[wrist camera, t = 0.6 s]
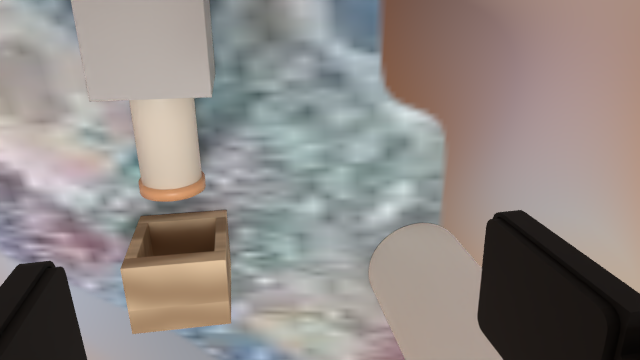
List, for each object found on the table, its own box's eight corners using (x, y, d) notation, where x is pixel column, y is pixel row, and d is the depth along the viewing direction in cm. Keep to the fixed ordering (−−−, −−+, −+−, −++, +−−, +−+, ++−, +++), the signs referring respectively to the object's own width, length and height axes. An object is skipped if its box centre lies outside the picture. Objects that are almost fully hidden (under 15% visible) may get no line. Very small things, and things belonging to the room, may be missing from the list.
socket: (140, 216, 40) (120, 268, 33) (226, 210, 41) (225, 259, 34) (149, 272, 42) (132, 333, 35) (230, 265, 43) (231, 323, 36)
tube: (113, -36, 31) (95, -38, 27) (186, -35, 32) (180, -38, 28) (145, 178, 37) (134, 203, 33) (206, 174, 38) (204, 198, 34)
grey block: (99, -43, 32) (61, -50, 25) (206, -42, 33) (199, -49, 26) (118, 76, 35) (89, 101, 28) (215, 73, 37) (211, 97, 29)
